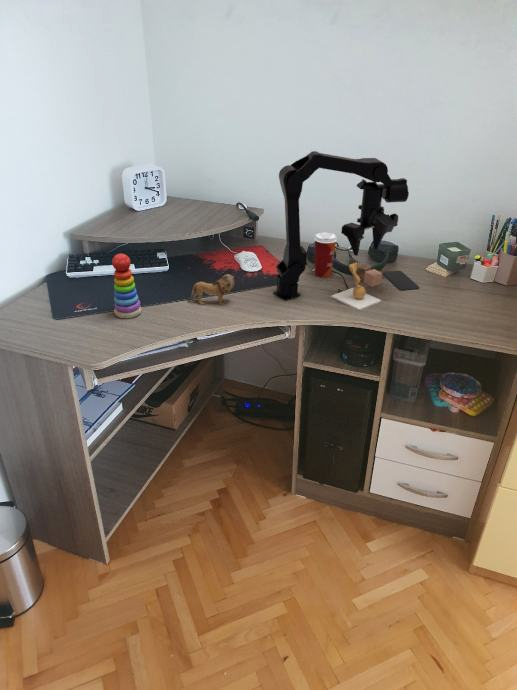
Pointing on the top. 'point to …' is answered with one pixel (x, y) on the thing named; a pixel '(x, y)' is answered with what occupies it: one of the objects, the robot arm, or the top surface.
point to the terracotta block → (373, 277)
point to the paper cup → (324, 253)
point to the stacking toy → (125, 288)
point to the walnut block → (362, 270)
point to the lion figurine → (213, 288)
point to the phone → (400, 280)
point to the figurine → (358, 290)
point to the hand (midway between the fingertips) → (365, 252)
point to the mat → (355, 300)
